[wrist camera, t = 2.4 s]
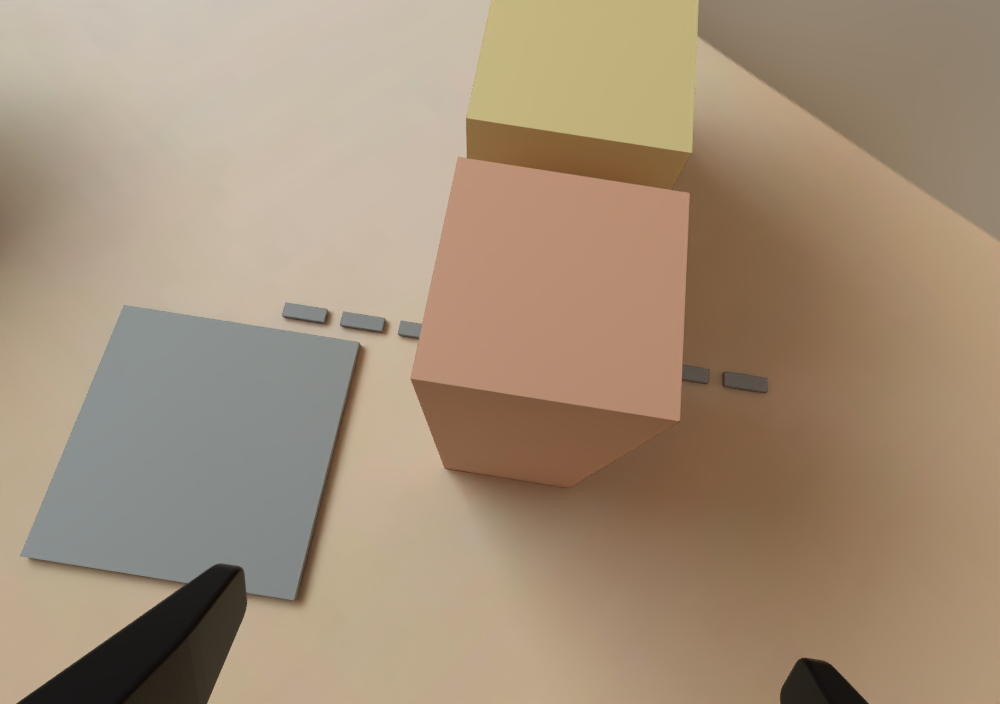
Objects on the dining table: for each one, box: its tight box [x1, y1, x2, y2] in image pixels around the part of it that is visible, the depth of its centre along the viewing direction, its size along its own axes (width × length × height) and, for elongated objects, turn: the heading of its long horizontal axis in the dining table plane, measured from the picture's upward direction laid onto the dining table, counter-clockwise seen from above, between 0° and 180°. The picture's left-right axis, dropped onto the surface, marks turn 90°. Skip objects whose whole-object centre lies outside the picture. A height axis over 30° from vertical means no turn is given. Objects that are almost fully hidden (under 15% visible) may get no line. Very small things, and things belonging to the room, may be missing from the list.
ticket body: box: [466, 0, 699, 190], centre depth 20 cm, size 14×5×12 cm, turn 171°
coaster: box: [20, 305, 360, 600], centre depth 22 cm, size 10×10×1 cm
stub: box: [411, 157, 690, 488], centre depth 17 cm, size 5×5×12 cm
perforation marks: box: [282, 303, 767, 393], centre depth 24 cm, size 1×21×1 cm, turn 81°
